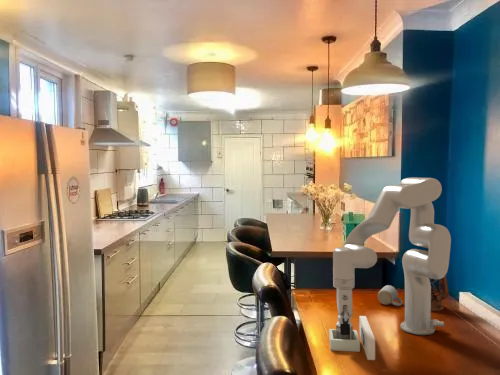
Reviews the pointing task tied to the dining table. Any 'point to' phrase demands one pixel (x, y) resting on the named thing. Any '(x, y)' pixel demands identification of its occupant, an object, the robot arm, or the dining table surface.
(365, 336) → the board
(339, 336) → the pill bottle
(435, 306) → the lantern
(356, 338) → the pale green square tray
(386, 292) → the ceramic mug
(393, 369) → the dining table surface
